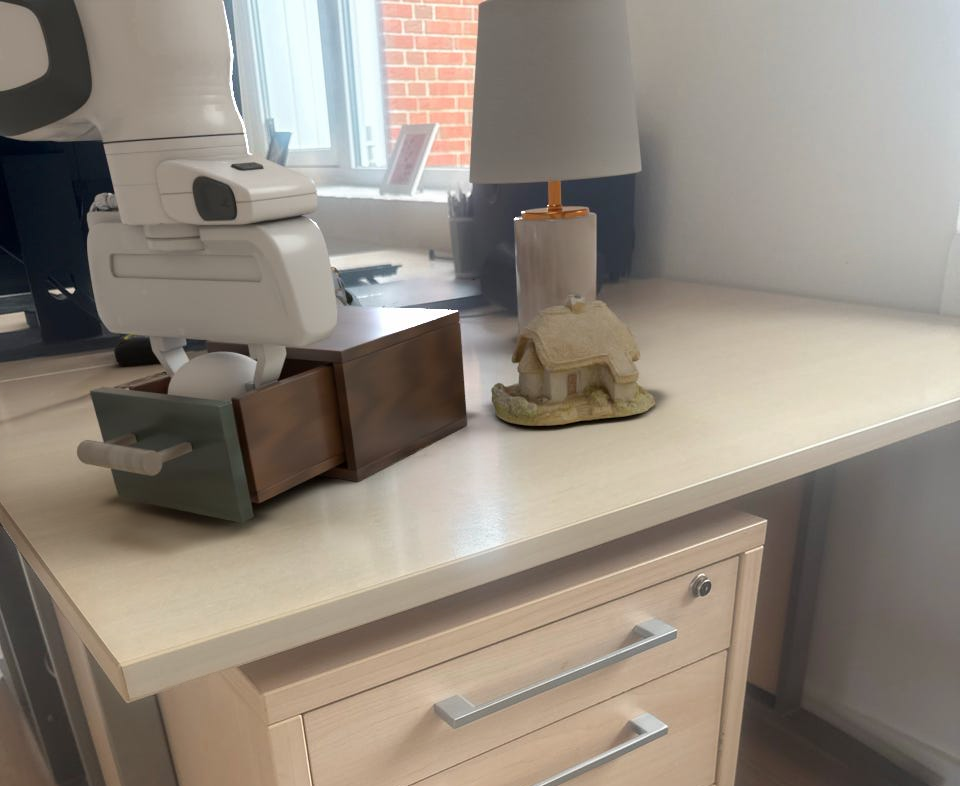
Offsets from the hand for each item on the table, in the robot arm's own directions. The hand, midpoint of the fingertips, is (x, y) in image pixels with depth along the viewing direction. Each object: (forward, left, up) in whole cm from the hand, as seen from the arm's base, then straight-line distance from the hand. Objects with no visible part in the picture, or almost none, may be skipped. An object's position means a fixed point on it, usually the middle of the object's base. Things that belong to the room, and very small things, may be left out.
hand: (227, 401), depth 66 cm
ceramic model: (+14, +28, -7) cm, 32 cm away
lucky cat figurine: (-29, +44, -7) cm, 53 cm away
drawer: (0, -1, -6) cm, 6 cm away
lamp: (-1, +54, -7) cm, 54 cm away
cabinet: (0, +13, -7) cm, 15 cm away
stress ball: (-1, 0, -2) cm, 2 cm away
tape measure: (-44, +29, -7) cm, 53 cm away
